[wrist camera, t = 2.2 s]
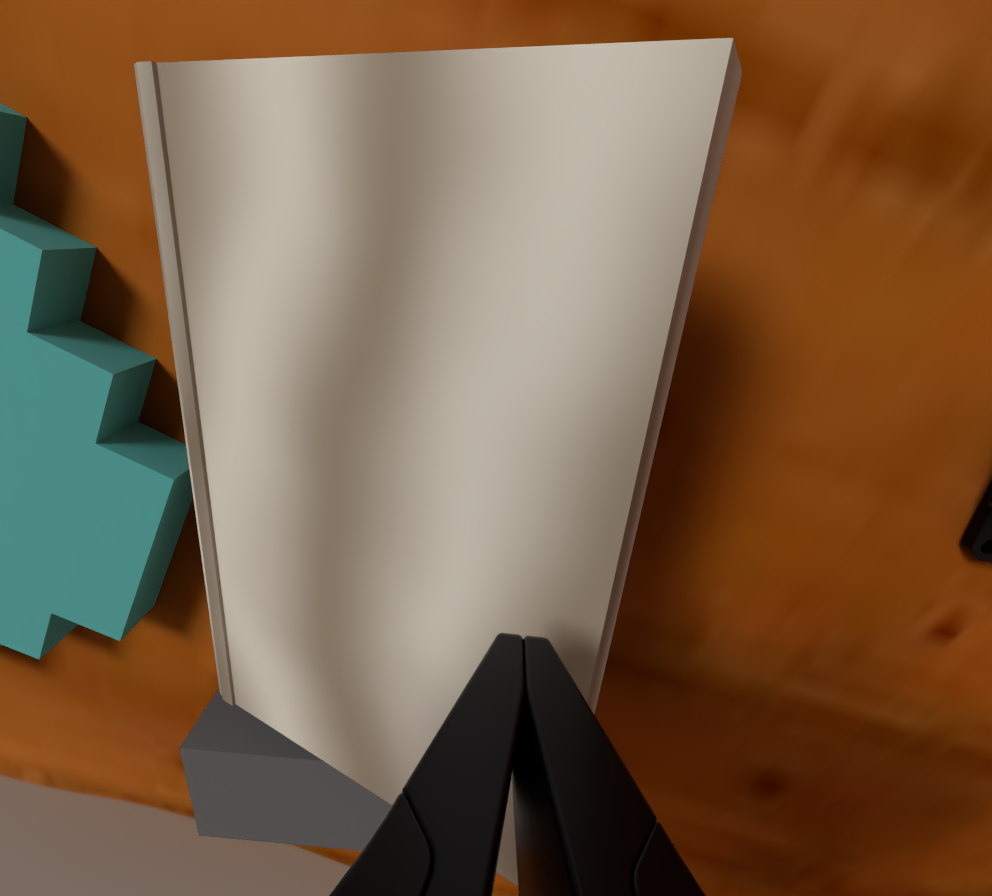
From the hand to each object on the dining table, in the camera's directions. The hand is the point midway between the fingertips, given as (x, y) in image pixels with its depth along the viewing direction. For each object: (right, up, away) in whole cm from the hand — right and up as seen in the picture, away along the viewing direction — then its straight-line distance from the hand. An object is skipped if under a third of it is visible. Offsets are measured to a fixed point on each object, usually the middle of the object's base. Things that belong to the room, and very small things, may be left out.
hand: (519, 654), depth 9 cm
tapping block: (-7, -8, +12) cm, 16 cm away
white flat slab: (-3, +2, +5) cm, 6 cm away
